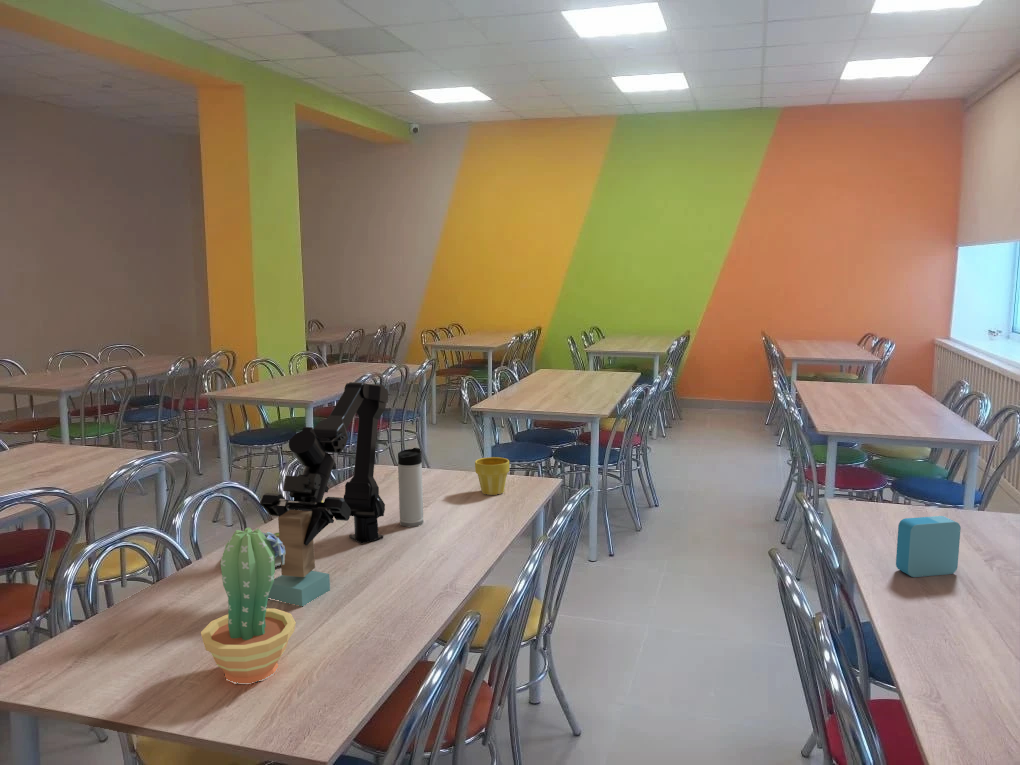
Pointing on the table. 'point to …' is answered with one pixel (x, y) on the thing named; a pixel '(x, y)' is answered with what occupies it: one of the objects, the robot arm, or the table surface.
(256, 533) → the potted cactus
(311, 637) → the table surface
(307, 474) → the robot arm
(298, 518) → the walnut block
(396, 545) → the table surface
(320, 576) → the teal base block
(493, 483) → the plant pot
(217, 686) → the table surface
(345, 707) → the table surface
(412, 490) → the travel mug
